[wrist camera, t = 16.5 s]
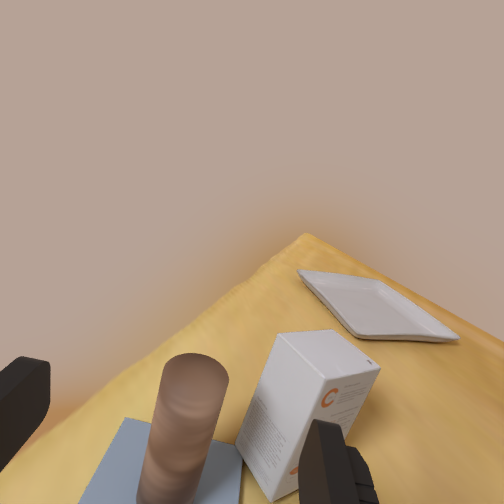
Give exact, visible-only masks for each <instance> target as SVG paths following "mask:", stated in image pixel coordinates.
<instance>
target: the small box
mask: <svg viewBox="0 0 504 504" xmlns="http://www.w3.org/2000/svg"><path fill="white" fill-rule="evenodd" d="M380 369H381V367H380V366H379V365H378V364H376V363H375V362H374V361H373V360H372V359H371V358H369V357H368V356H367V355H365V354H364V353H363V352H362V351H360V350H359V349H358V348H357V347H355V346H354V345H353V344H351V343H350V342H349V341H347V340H346V339H345V338H343V337H342V336H341V335H339V334H338V333H337V332H335V331H334V330H333V329H329V330H316V331H302V332H288V333H278V334H277V337H276V339H275V342H274V344H273V347H272V349H271V352H270V355H269V357H268V360H267V362H266V365H265V367H264V370H263V372H262V375H261V377H260V380H259V383H258V385H257V388H256V390H255V393H254V395H253V398H252V400H251V403H250V405H249V408H248V410H247V413H246V416H245V418H244V421H243V423H242V426H241V428H240V431H239V433H238V436H237V438H236V441H235V446H236V448H237V449H238V451H239V452H240V454H241V456H242V457H243V459H244V461H245V462H246V464H247V466H248V467H249V469H250V471H251V472H252V474H253V476H254V477H255V479H256V481H257V483H258V484H259V486H260V488H261V489H262V491H263V492H264V494H265V496H266V497H267V499H268V500H269V502H274V501H275V500H277V499H279V498H281V497H283V496H285V495H287V494H289V493H291V492H293V491H295V490H297V489H299V488H298V464H299V458H300V454H301V451H302V449H303V446H304V443H305V440H306V437H307V434H308V431H309V428H310V425H311V423H312V421H313V419H318V420H322V421H327V422H332V423H337V424H339V425H340V427H341V429H342V433H343V437H344V440H345V438H346V436H347V434H348V432H349V430H350V428H351V426H352V424H353V423H354V421H355V419H356V417H357V415H358V413H359V411H360V409H361V407H362V405H363V403H364V401H365V399H366V397H367V395H368V393H369V391H370V389H371V387H372V385H373V383H374V381H375V379H376V377H377V375H378V373H379V371H380Z"/></svg>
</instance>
